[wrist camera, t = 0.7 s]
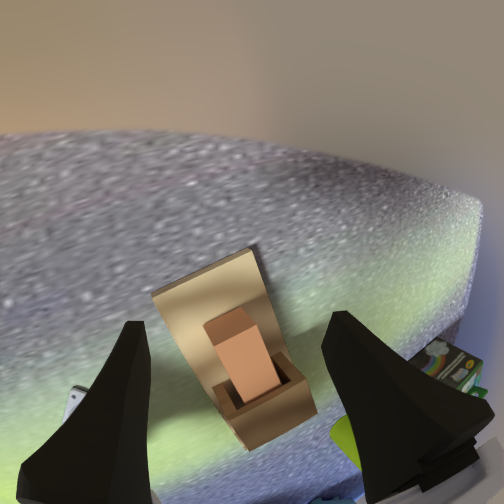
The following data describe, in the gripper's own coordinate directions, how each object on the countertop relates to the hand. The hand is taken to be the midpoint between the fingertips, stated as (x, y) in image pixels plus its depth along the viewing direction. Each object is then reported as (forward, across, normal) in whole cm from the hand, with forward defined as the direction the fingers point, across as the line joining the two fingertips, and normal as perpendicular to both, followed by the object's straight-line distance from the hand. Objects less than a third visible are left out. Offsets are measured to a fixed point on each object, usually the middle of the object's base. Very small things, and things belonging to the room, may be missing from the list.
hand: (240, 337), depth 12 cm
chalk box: (+16, -38, +31) cm, 51 cm away
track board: (+13, -4, +19) cm, 24 cm away
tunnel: (+11, -5, +21) cm, 25 cm away
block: (+12, -4, +18) cm, 22 cm away
